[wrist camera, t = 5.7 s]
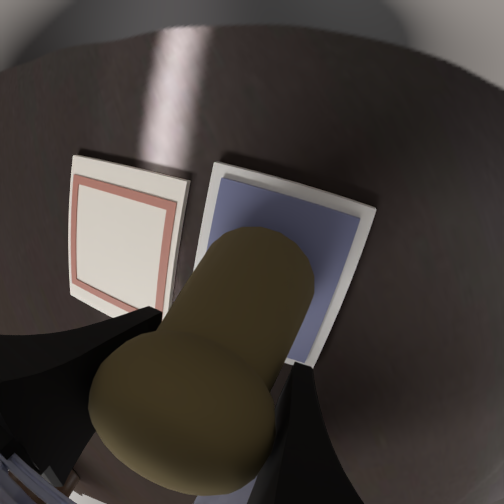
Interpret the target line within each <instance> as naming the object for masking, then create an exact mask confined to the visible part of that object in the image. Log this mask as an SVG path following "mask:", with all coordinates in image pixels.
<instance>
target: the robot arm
mask: <svg viewBox="0 0 504 504" xmlns="http://www.w3.org/2000/svg"><path fill="white" fill-rule="evenodd" d="M162 313H163V312H162V311H159V310H157V309H155V308H153V307H150V306H147V307H144V308H141V309H138V310H135V311H132V312H129V313H126V314H123V315H120V316H117V317H114V318H111V319H108V320H105V321H102V322H99V323H95V324H92V325H88V326H85V327H81V328H77V329H73V330H68V331H62V332H56V333H49V334H37V335H0V504H36V503H35V502H34V501H33V500H32V499H31V498H30V497H29V496H28V495H27V494H26V493H25V492H24V490H23V489H22V488H21V487H20V486H19V485H18V484H17V483H16V482H15V481H14V480H13V479H12V478H11V477H10V476H9V475H8V473H9V472H8V470H9V471H10V472H11V473H12V474H13V475H14V476H15V477H16V478H18V479H19V480H20V481H21V482H22V483H23V484H24V485H25V486H26V487H27V488H29V489H30V490H31V491H32V492H33V493H34V494H35V495H37V496H38V497H39V498H40V499H41V500H43V501H44V502H45V503H46V504H77V503H75V502H73V501H72V500H71V499H69V498H68V497H67V496H65V495H64V494H63V493H61V492H60V491H59V490H57V489H56V488H55V487H62V486H64V484H65V482H66V480H67V478H68V476H69V474H70V472H71V470H72V468H73V467H74V465H75V463H76V461H77V459H78V458H79V456H80V454H81V453H82V451H83V449H84V448H85V446H86V445H87V443H88V442H89V440H90V439H91V437H92V435H93V434H94V432H95V431H96V430H95V428H94V426H93V424H92V422H91V418H90V414H89V410H88V403H89V392H90V388H91V385H92V381H93V378H94V376H95V374H96V372H97V370H98V368H99V366H100V365H101V363H102V362H103V361H104V360H105V359H106V358H107V357H108V356H109V355H110V354H111V353H112V352H114V351H115V350H116V349H117V348H119V347H120V346H121V345H123V344H124V343H125V342H126V341H128V340H130V339H132V338H134V337H136V336H138V335H141V334H144V333H149V332H154V331H156V330H157V329H158V327H159V325H160V324H161V322H162ZM274 411H275V427H276V437H275V441H274V445H273V449H272V452H271V454H270V456H269V457H268V459H267V461H266V462H265V464H264V465H263V467H262V468H261V470H260V471H259V473H258V475H257V476H256V478H255V479H254V480H252V481H251V482H249V483H248V484H247V485H245V486H244V487H242V488H241V489H239V490H237V491H234V492H232V493H230V494H225V495H213V496H197V498H196V500H195V502H194V504H364V503H363V501H362V500H361V498H360V497H359V495H358V494H357V492H356V491H355V489H354V487H353V486H352V484H351V482H350V481H349V479H348V477H347V475H346V474H345V472H344V470H343V468H342V466H341V464H340V462H339V460H338V458H337V456H336V453H335V451H334V449H333V446H332V444H331V441H330V438H329V436H328V433H327V430H326V427H325V424H324V420H323V417H322V413H321V409H320V406H319V402H318V397H317V392H316V387H315V382H314V374H313V369H312V367H311V366H308V365H304V364H301V363H298V362H294V365H293V367H292V369H291V372H290V374H289V376H288V378H287V381H286V383H285V385H284V387H283V390H282V392H281V394H280V396H279V398H278V401H277V404H276V407H275V410H274ZM36 472H37V473H36ZM42 477H43V478H42ZM48 482H49V483H48ZM53 486H54V487H53Z"/></svg>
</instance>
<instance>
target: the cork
mask: <svg viewBox="0 0 504 504" xmlns="http://www.w3.org/2000/svg"><path fill="white" fill-rule="evenodd" d="M313 296H314V273H313V270H312V268H311V265H310V262H309V259H308V258H307V256H306V255H305V254H304V253H303V251H302V250H301V249H300V247H299V246H298V245H297V244H296V243H295V242H294V241H292V240H291V239H289V238H288V237H286V236H285V235H283V234H282V233H280V232H277V231H274V230H271V229H267V228H264V227H240V228H237V229H234V230H232V231H229V232H226V233H224V234H223V235H222V236H221V237H219V238H218V239H217V240H216V241H214V242H213V243H212V244H211V246H210V247H209V249H208V250H207V252H206V253H205V255H204V256H203V258H202V259H201V261H200V262H199V264H198V265H197V267H196V269H195V270H194V272H193V273H192V275H191V276H190V278H189V279H188V281H187V282H186V284H185V286H184V287H183V289H182V290H181V292H180V293H179V295H178V297H177V298H176V300H175V301H174V303H173V304H172V306H171V308H170V309H169V311H168V312H167V314H166V316H165V317H164V319H163V320H162V322H161V324H160V325H159V327H158V329H157V330H156V331H154V332H149V333H144V334H141V335H138V336H136V337H134V338H132V339H130V340H128V341H126V342H125V343H124V344H123V345H121V346H120V347H119V348H117V349H116V350H115V351H114V352H112V353H111V354H110V355H109V356H108V357H107V358H106V359H105V360H104V361H103V362H102V363H101V365H100V366H99V368H98V370H97V372H96V374H95V376H94V378H93V381H92V385H91V388H90V392H89V403H88V410H89V414H90V418H91V422H92V424H93V426H94V428H95V430H96V432H97V433H98V435H99V437H100V438H101V440H102V441H103V443H104V444H105V446H106V447H107V448H108V449H109V450H110V451H111V452H112V453H113V454H114V455H115V456H116V457H117V458H118V459H119V460H120V461H121V462H123V463H124V464H125V465H126V466H128V467H129V468H130V469H132V470H133V471H135V472H136V473H138V474H139V475H141V476H143V477H144V478H146V479H148V480H150V481H152V482H154V483H156V484H158V485H161V486H163V487H165V488H168V489H171V490H174V491H177V492H181V493H184V494H190V495H197V496H213V495H225V494H230V493H232V492H234V491H237V490H239V489H241V488H242V487H244V486H245V485H247V484H248V483H249V482H251V481H252V480H254V479H255V478H256V476H257V475H258V473H259V471H260V470H261V468H262V467H263V465H264V464H265V462H266V461H267V459H268V457H269V456H270V454H271V452H272V449H273V445H274V441H275V437H276V427H275V411H274V400H273V399H272V397H271V395H270V391H271V389H272V387H273V385H274V383H275V381H276V379H277V377H278V375H279V373H280V370H281V368H282V366H283V364H284V362H285V360H286V358H287V356H288V354H289V351H290V349H291V347H292V345H293V343H294V341H295V338H296V336H297V334H298V332H299V330H300V327H301V325H302V323H303V321H304V318H305V316H306V314H307V311H308V309H309V307H310V304H311V301H312V299H313Z"/></svg>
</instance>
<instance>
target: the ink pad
mask: <svg viewBox="0 0 504 504" xmlns="http://www.w3.org/2000/svg"><path fill="white" fill-rule="evenodd" d="M376 210H377V209H376V208H375V207H373V206H370V205H367V204H364V203H361V202H358V201H355V200H352V199H349V198H346V197H343V196H340V195H337V194H334V193H331V192H327V191H324V190H321V189H318V188H314V187H311V186H308V185H304V184H301V183H298V182H294V181H291V180H287V179H284V178H280V177H276V176H273V175H269V174H266V173H262V172H258V171H254V170H250V169H247V168H243V167H239V166H235V165H231V164H227V163H223V162H214V165H213V170H212V175H211V180H210V184H209V189H208V194H207V199H206V204H205V210H204V215H203V220H202V225H201V231H200V236H199V242H198V248H197V253H196V259H195V265H194V270H195V269H196V267H197V265H198V264H199V262H200V261H201V259H202V258H203V256H204V255H205V253H206V252H207V250H208V249H209V247H210V246H211V244H212V243H213V242H214V241H216V240H217V239H218V238H219V237H221V236H222V235H223V234H224V233H226V232H229V231H232V230H234V229H237V228H240V227H264V228H267V229H271V230H274V231H277V232H280V233H282V234H283V235H285V236H286V237H288V238H289V239H291V240H292V241H294V242H295V243H296V244H297V245H298V246H299V247H300V249H301V250H302V251H303V253H304V254H305V255H306V256H307V258H308V259H309V262H310V265H311V268H312V270H313V273H314V296H313V299H312V301H311V304H310V307H309V309H308V311H307V314H306V316H305V318H304V321H303V323H302V325H301V327H300V330H299V332H298V334H297V336H296V338H295V341H294V343H293V345H292V347H291V349H290V351H289V354H288V356H287V358H286V360H285V362H284V363H287V364H290V365H294V362H298V363H301V364H304V365H308V366H311V367H312V369H313V367H314V365H315V363H316V361H317V359H318V357H319V355H320V352H321V350H322V348H323V346H324V344H325V342H326V339H327V337H328V335H329V333H330V330H331V328H332V326H333V323H334V321H335V319H336V316H337V314H338V312H339V309H340V307H341V305H342V302H343V300H344V297H345V295H346V292H347V290H348V287H349V285H350V282H351V280H352V277H353V275H354V272H355V269H356V267H357V264H358V261H359V259H360V256H361V253H362V251H363V248H364V245H365V242H366V239H367V236H368V234H369V231H370V228H371V225H372V222H373V219H374V216H375V213H376ZM193 272H194V271H193Z"/></svg>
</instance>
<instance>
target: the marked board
mask: <svg viewBox="0 0 504 504" xmlns="http://www.w3.org/2000/svg"><path fill="white" fill-rule="evenodd" d="M190 182H191V181H190V180H186V179H182V178H178V177H174V176H170V175H166V174H162V173H158V172H154V171H150V170H145V169H141V168H137V167H132V166H128V165H124V164H119V163H115V162H110V161H106V160H101V159H96V158H91V157H87V156H82V155H73V161H72V171H71V183H70V199H69V229H68V248H69V278H70V294H71V295H72V296H74V297H75V298H77V299H79V300H81V301H83V302H84V303H86V304H88V305H90V306H92V307H93V308H95V309H97V310H99V311H101V312H103V313H105V314H107V315H108V316H110V317H112V318H114V317H117V316H120V315H123V314H126V313H129V312H132V311H135V310H138V309H141V308H144V307H147V306H150V307H153V308H155V309H157V310H159V311H162V312H163V313H162V320H163V319H164V317H165V316H166V314H167V312H168V311H169V309H170V308H171V306H172V299H173V291H174V283H175V275H176V268H177V261H178V254H179V247H180V241H181V234H182V228H183V222H184V216H185V210H186V204H187V198H188V193H189V187H190Z"/></svg>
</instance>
